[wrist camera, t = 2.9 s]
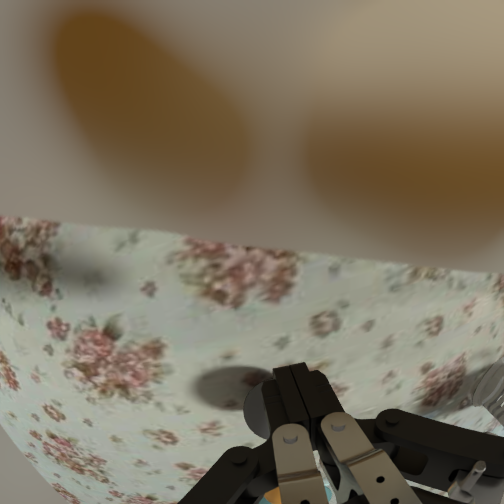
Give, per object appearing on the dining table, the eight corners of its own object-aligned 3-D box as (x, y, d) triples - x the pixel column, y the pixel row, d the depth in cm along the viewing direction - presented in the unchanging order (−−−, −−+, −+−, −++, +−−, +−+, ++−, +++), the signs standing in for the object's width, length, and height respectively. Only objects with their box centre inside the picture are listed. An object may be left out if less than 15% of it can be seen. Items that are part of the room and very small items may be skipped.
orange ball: (282, 482, 31) (291, 515, 26) (248, 474, 29) (254, 510, 24) (312, 461, 30) (324, 495, 25) (278, 451, 29) (288, 489, 23)
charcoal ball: (274, 417, 27) (285, 458, 22) (228, 396, 26) (233, 441, 20) (312, 380, 26) (331, 421, 21) (266, 356, 25) (279, 399, 20)
